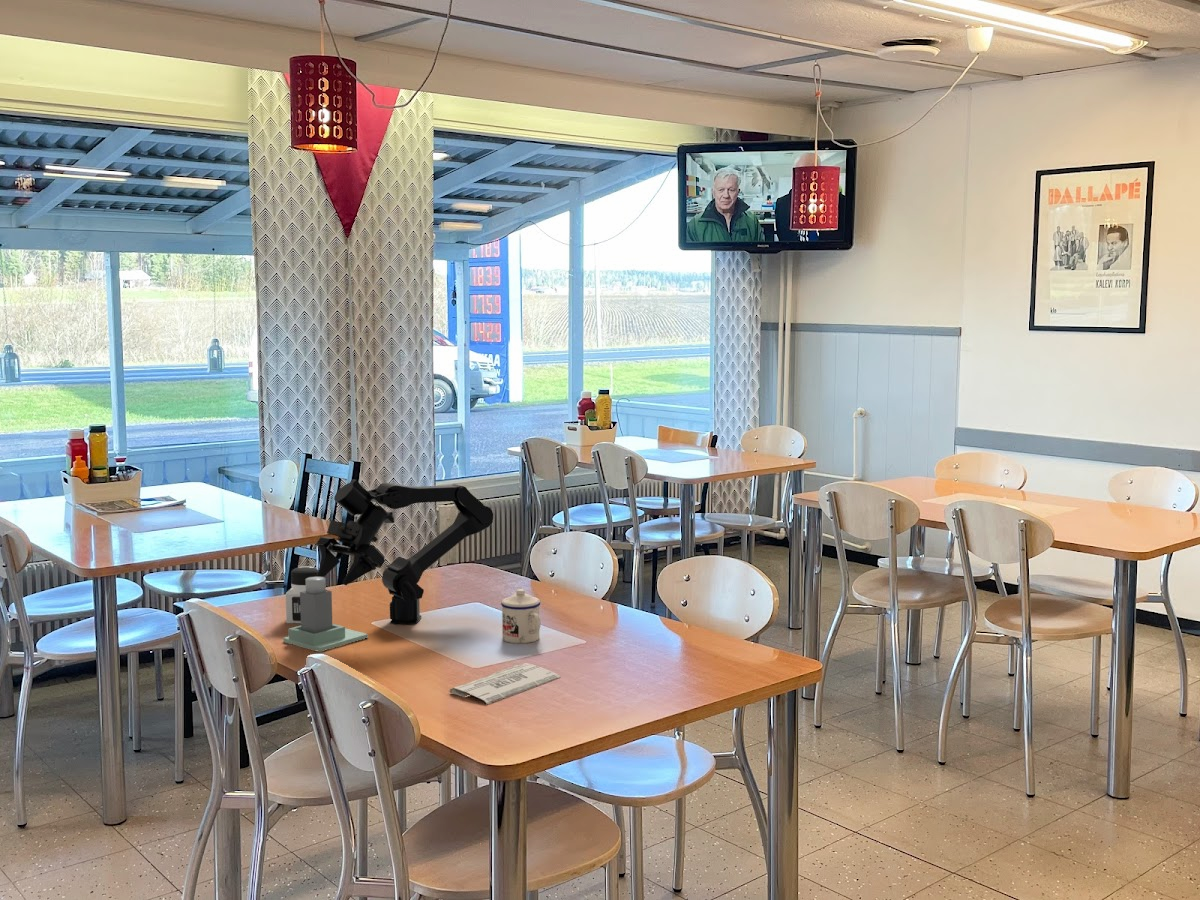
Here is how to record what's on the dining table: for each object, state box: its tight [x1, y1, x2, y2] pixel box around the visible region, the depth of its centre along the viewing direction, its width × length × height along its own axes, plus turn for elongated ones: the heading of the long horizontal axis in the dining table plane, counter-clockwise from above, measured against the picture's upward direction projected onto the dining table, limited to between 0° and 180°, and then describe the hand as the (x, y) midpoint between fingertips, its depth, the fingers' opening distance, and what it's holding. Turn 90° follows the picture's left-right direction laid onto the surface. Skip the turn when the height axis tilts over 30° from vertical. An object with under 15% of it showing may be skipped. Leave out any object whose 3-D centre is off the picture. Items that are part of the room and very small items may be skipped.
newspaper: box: [449, 663, 561, 705], centre depth 238 cm, size 23×12×2 cm, turn 141°
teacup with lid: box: [500, 588, 542, 644], centre depth 269 cm, size 12×9×12 cm
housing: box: [282, 623, 369, 653], centre depth 269 cm, size 14×13×4 cm
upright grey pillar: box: [300, 576, 333, 634], centre depth 266 cm, size 5×5×14 cm
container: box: [285, 566, 319, 624], centre depth 286 cm, size 8×8×13 cm
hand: (331, 581), depth 269 cm, fingers open, 9 cm apart
